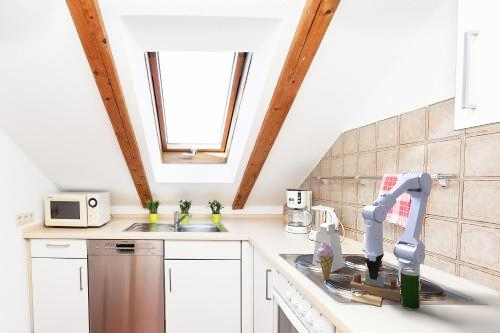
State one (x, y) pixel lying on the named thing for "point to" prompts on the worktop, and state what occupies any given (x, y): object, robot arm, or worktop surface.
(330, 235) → the grater
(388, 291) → the body
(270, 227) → the worktop surface
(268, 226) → the worktop surface
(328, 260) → the ice cream cone
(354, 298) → the cork trivet
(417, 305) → the beer can
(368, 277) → the grey block with knob
